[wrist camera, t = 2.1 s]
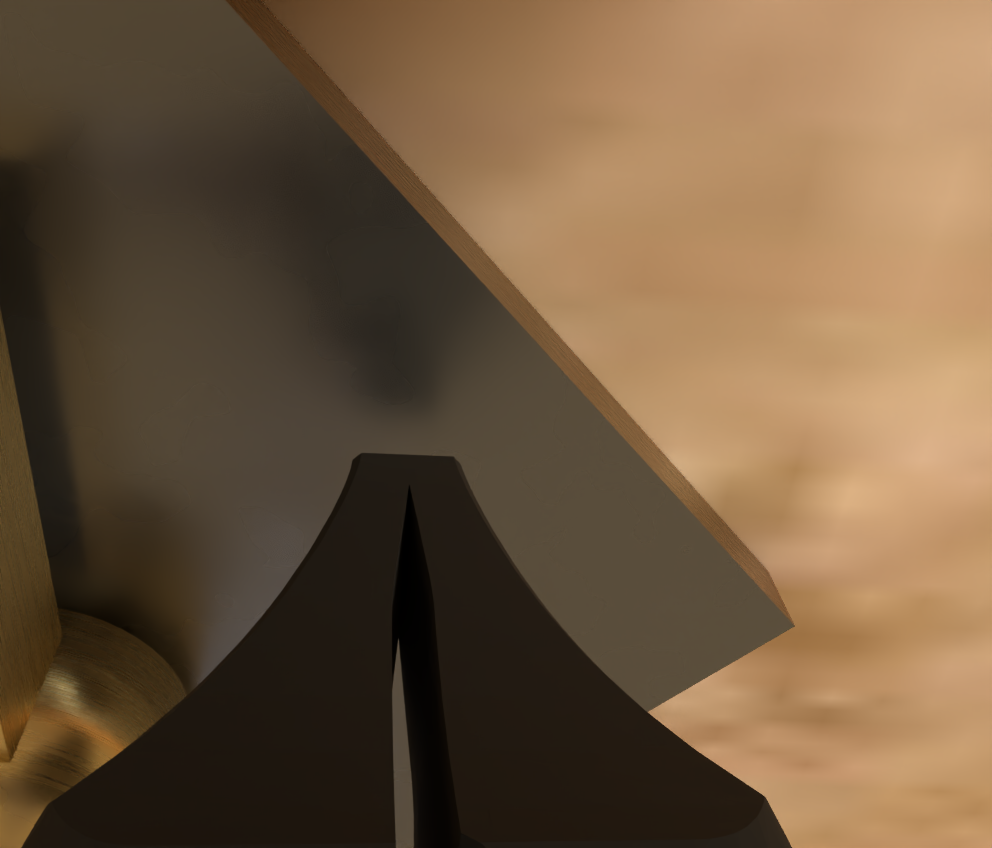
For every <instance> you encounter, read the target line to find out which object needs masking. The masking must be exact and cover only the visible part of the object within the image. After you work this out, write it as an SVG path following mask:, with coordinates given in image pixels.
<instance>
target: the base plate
mask: <svg viewBox="0 0 992 848" xmlns="http://www.w3.org/2000/svg"><path fill="white" fill-rule="evenodd" d="M0 310H1V315H2V320H3V325H4V330H5V336H6V341H7V346H8V351H9V357H10V362H11V367H12V372H13V378H14V383H15V388H16V393H17V399H18V404H19V409H20V414H21V420H22V425H23V430H24V435H25V441H26V446H27V451H28V456H29V462H30V467H31V472H32V477H33V483H34V488H35V493H36V498H37V503H38V509H39V514H40V519H41V524H42V530H43V535H44V540H45V545H46V551H47V556H48V561H49V566H50V572H51V577H52V582H53V587H54V593H55V598H56V603H57V608H62V609H67V610H71V611H75V612H79V613H83V614H86V615H89V616H92V617H95V618H98V619H101V620H104V621H106V622H108V623H110V624H113V625H115V626H117V627H119V628H122V629H123V630H125V631H127V632H129V633H130V634H132V635H134V636H136V637H137V638H139V639H140V640H142V641H143V642H144V643H146V644H147V645H148V646H150V647H151V648H153V649H154V650H155V651H156V652H157V653H158V654H159V655H160V656H161V657H162V658H163V659H165V660H166V662H167V663H168V664H169V665H170V667H171V668H172V669H173V670H174V671H175V673H176V674H177V676H178V678H179V679H180V681H181V683H182V684H183V687H184V689H185V692H186V694H187V695H188V694H189V693H190V692H191V691H192V690H193V689H194V688H196V687H197V686H198V685H199V684H200V683H201V682H202V681H203V680H204V679H205V678H206V677H207V676H208V675H209V674H210V673H211V672H212V671H213V670H214V669H215V668H216V667H217V665H218V664H219V663H220V662H221V661H222V660H223V659H224V658H225V657H226V656H227V655H228V654H229V653H230V652H231V651H232V650H233V649H234V648H235V647H236V646H237V644H238V643H239V642H240V641H241V640H242V639H243V638H244V637H245V635H246V634H247V633H248V632H249V631H250V630H251V628H252V627H253V626H254V625H255V624H256V623H257V621H258V620H259V619H260V618H261V617H262V615H263V614H264V613H265V612H266V610H267V609H268V608H269V607H270V605H271V604H272V603H273V601H274V600H275V599H276V598H277V596H278V595H279V594H280V592H281V591H282V590H283V588H284V587H285V585H286V584H287V582H288V581H289V579H290V578H291V577H292V575H293V574H294V572H295V571H296V569H297V568H298V566H299V565H300V564H301V562H302V561H303V559H304V558H305V556H306V555H307V553H308V552H309V550H310V549H311V547H312V545H313V544H314V542H315V540H316V538H317V537H318V535H319V533H320V532H321V530H322V528H323V526H324V525H325V523H326V521H327V519H328V518H329V516H330V514H331V512H332V510H333V508H334V506H335V504H336V502H337V500H338V498H339V496H340V494H341V492H342V490H343V487H344V485H345V483H346V480H347V477H348V475H349V472H350V469H351V464H352V460H353V459H354V458H355V457H357V456H358V455H359V454H361V453H382V454H407V455H432V456H454V457H455V459H456V460H457V461H458V462H459V463H460V464H461V466H462V469H463V472H464V474H465V476H466V479H467V481H468V483H469V485H470V488H471V490H472V492H473V494H474V496H475V498H476V500H477V502H478V504H479V505H480V507H481V509H482V511H483V513H484V515H485V517H486V518H487V520H488V522H489V524H490V525H491V527H492V529H493V531H494V532H495V534H496V535H497V537H498V539H499V540H500V542H501V543H502V545H503V547H504V548H505V550H506V551H507V553H508V555H509V556H510V558H511V559H512V561H513V562H514V564H515V565H516V567H517V568H518V570H519V571H520V573H521V574H522V576H523V577H524V579H525V580H526V581H527V583H528V584H529V585H530V587H531V588H532V589H533V591H534V592H535V594H536V595H537V596H538V598H539V599H540V600H541V602H542V603H543V604H544V606H545V607H546V608H547V609H548V611H549V612H550V613H551V614H552V616H553V617H554V618H555V619H556V621H557V622H558V623H559V624H560V625H561V627H562V628H563V629H564V630H565V631H566V632H567V633H568V635H569V636H570V637H571V638H572V639H573V640H574V641H575V642H576V644H577V645H578V646H579V647H580V648H581V649H582V650H583V651H584V652H585V653H586V654H587V655H588V657H589V658H590V659H591V660H592V661H593V662H594V663H595V664H596V665H597V666H598V667H599V668H600V669H601V670H602V671H603V672H604V673H605V674H606V675H607V676H608V677H609V678H610V679H611V680H612V681H614V682H615V683H616V684H617V685H618V686H619V687H620V688H621V689H622V690H623V691H625V692H626V693H627V694H628V695H629V696H630V697H631V698H632V699H633V700H634V701H636V702H637V703H638V704H639V705H640V706H641V707H642V708H643V709H644V710H645V711H647V712H648V711H650V710H652V709H653V708H655V707H657V706H658V705H660V704H662V703H664V702H665V701H667V700H669V699H670V698H672V697H674V696H676V695H677V694H679V693H681V692H682V691H684V690H686V689H688V688H689V687H691V686H693V685H695V684H696V683H698V682H700V681H701V680H703V679H705V678H707V677H708V676H710V675H712V674H713V673H715V672H717V671H719V670H720V669H722V668H724V667H725V666H727V665H729V664H731V663H732V662H734V661H736V660H738V659H739V658H741V657H743V656H744V655H746V654H748V653H750V652H751V651H753V650H755V649H756V648H758V647H760V646H762V645H763V644H765V643H767V642H768V641H770V640H772V639H774V638H775V637H777V636H779V635H781V634H782V633H784V632H786V631H787V630H789V629H791V628H793V627H794V626H795V625H794V623H793V621H792V619H791V617H790V615H789V613H788V611H787V609H786V607H785V605H784V603H783V601H782V599H781V597H780V595H779V593H778V590H777V588H776V586H775V584H774V582H773V580H772V578H771V576H770V574H769V572H768V571H767V570H766V569H765V567H764V566H763V565H762V564H761V563H760V562H759V561H758V560H757V558H756V557H755V556H754V555H753V554H752V553H751V552H750V551H749V549H748V548H747V547H746V546H745V545H744V544H743V543H742V542H741V540H740V539H739V538H738V537H737V536H736V535H735V534H734V533H733V531H732V530H731V529H730V528H729V527H728V526H727V525H726V524H725V522H724V521H723V520H722V519H721V518H720V517H719V516H718V515H717V513H716V512H715V511H714V510H713V509H712V508H711V507H710V506H709V504H708V503H707V502H706V501H705V500H704V499H703V498H702V497H701V495H700V494H699V493H698V492H697V491H696V490H695V489H694V488H693V486H692V485H691V484H690V483H689V482H688V481H687V480H686V479H685V477H684V476H683V475H682V474H681V473H680V472H679V471H678V470H677V468H676V467H675V466H674V465H673V464H672V463H671V462H670V461H669V459H668V458H667V457H666V456H665V455H664V454H663V453H662V452H661V450H660V449H659V448H658V447H657V446H656V445H655V444H654V443H653V441H652V440H651V439H650V438H649V437H648V436H647V435H646V434H645V432H644V431H643V430H642V429H641V428H640V427H639V426H638V425H637V424H636V422H635V421H634V420H633V419H632V418H631V417H630V416H629V415H628V413H627V412H626V411H625V410H624V409H623V408H622V407H621V406H620V404H619V403H618V402H617V401H616V400H615V399H614V398H613V397H612V395H611V394H610V393H609V392H608V391H607V390H606V389H605V388H604V386H603V385H602V384H601V383H600V382H599V381H598V380H597V379H596V377H595V376H594V375H593V374H592V373H591V372H590V371H589V370H588V368H587V367H586V366H585V365H584V364H583V363H582V362H581V361H580V359H579V358H578V357H577V356H576V355H575V354H574V353H573V352H572V350H571V349H570V348H569V347H568V346H567V345H566V344H565V343H564V341H563V340H562V339H561V338H560V337H559V336H558V335H557V334H556V332H555V331H554V330H553V329H552V328H551V327H550V326H549V325H548V323H547V322H546V321H545V320H544V319H543V318H542V317H541V316H540V314H539V313H538V312H537V311H536V310H535V309H534V308H533V307H532V305H531V304H530V303H529V302H528V301H527V300H526V299H525V298H524V296H523V295H522V294H521V293H520V292H519V291H518V290H517V289H516V287H515V286H514V285H513V284H512V283H511V282H510V281H509V280H508V278H507V277H506V276H505V275H504V274H503V273H502V272H501V271H500V270H499V268H498V267H497V266H496V265H495V264H494V263H493V262H492V261H491V259H490V258H489V257H488V256H487V255H486V254H485V253H484V252H483V250H482V249H481V248H480V247H479V246H478V245H477V244H476V243H475V241H474V240H473V239H472V238H471V237H470V236H469V235H468V234H467V232H466V231H465V230H464V229H463V228H462V227H461V226H460V225H459V223H458V222H457V221H456V220H455V219H454V218H453V217H452V216H451V214H450V213H449V212H448V211H447V210H446V209H445V208H444V207H443V205H442V204H441V203H440V202H439V201H438V200H437V199H436V198H435V196H434V195H433V194H432V193H431V192H430V191H429V190H428V189H427V187H426V186H425V185H424V184H423V183H422V182H421V181H420V180H419V178H418V177H417V176H416V175H415V174H414V173H413V172H412V171H411V169H410V168H409V167H408V166H407V165H406V164H405V163H404V162H403V160H402V159H401V158H400V157H399V156H398V155H397V154H396V153H395V151H394V150H393V149H392V148H391V147H390V146H389V145H388V144H387V142H386V141H385V140H384V139H383V138H382V137H381V136H380V135H379V133H378V132H377V131H376V130H375V129H374V128H373V127H372V126H371V124H370V123H369V122H368V121H367V120H366V119H365V118H364V117H363V116H362V114H361V113H360V112H359V111H358V110H357V109H356V108H355V107H354V105H353V104H352V103H351V102H350V101H349V100H348V99H347V98H346V96H345V95H344V94H343V93H342V92H341V91H340V90H339V89H338V87H337V86H336V85H335V84H334V83H333V82H332V81H331V80H330V78H329V77H328V76H327V75H326V74H325V73H324V72H323V71H322V69H321V68H320V67H319V66H318V65H317V64H316V63H315V62H314V60H313V59H312V58H311V57H310V56H309V55H308V54H307V53H306V51H305V50H304V49H303V48H302V47H301V46H300V45H299V44H298V42H297V41H296V40H295V39H294V38H293V37H292V36H291V35H290V33H289V32H288V31H287V30H286V29H285V28H284V27H283V26H282V24H281V23H280V22H279V21H278V20H277V19H276V18H275V17H274V15H273V14H272V13H271V12H270V11H269V10H268V9H267V8H266V6H265V5H264V4H263V3H262V2H261V1H260V0H0ZM392 711H393V766H394V803H395V833H396V848H414V813H413V794H412V779H411V768H410V757H409V747H408V736H407V725H406V715H405V704H404V694H403V683H402V672H401V661H400V650H399V638H398V646H397V654H396V663H395V671H394V680H393V688H392Z"/></svg>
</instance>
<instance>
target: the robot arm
mask: <svg viewBox="0 0 992 848" xmlns="http://www.w3.org/2000/svg"><path fill="white" fill-rule="evenodd" d="M398 638H399V650H400V661H401V672H402V683H403V694H404V704H405V715H406V725H407V736H408V747H409V757H410V768H411V779H412V794H413V813H414V848H792V847H791V845H790V843H789V841H788V839H787V837H786V835H785V833H784V831H783V829H782V827H781V826H780V824H779V822H778V820H777V818H776V816H775V814H774V812H773V811H772V809H771V807H770V805H769V803H768V801H767V799H766V798H765V797H764V796H763V795H762V794H760V793H759V792H757V791H756V790H754V789H753V788H751V787H750V786H748V785H747V784H745V783H744V782H742V781H741V780H739V779H738V778H736V777H735V776H733V775H732V774H730V773H729V772H727V771H726V770H724V769H723V768H721V767H720V766H718V765H717V764H715V763H714V762H713V761H711V760H710V759H708V758H707V757H705V756H704V755H702V754H701V753H699V752H698V751H696V750H695V749H694V748H692V747H691V746H690V745H688V744H687V743H686V742H684V741H683V740H682V739H681V738H679V737H678V736H677V735H675V734H674V733H673V732H672V731H670V730H669V729H668V728H666V727H665V726H664V725H663V724H661V723H660V722H659V721H658V720H656V719H655V718H654V717H653V716H651V715H650V714H649V713H648V712H647V711H645V710H644V709H643V708H642V707H641V706H640V705H639V704H638V703H637V702H636V701H634V700H633V699H632V698H631V697H630V696H629V695H628V694H627V693H626V692H625V691H623V690H622V689H621V688H620V687H619V686H618V685H617V684H616V683H615V682H614V681H612V680H611V679H610V678H609V677H608V676H607V675H606V674H605V673H604V672H603V671H602V670H601V669H600V668H599V667H598V666H597V665H596V664H595V663H594V662H593V661H592V660H591V659H590V658H589V657H588V655H587V654H586V653H585V652H584V651H583V650H582V649H581V648H580V647H579V646H578V645H577V644H576V642H575V641H574V640H573V639H572V638H571V637H570V636H569V635H568V633H567V632H566V631H565V630H564V629H563V628H562V627H561V625H560V624H559V623H558V622H557V621H556V619H555V618H554V617H553V616H552V614H551V613H550V612H549V611H548V609H547V608H546V607H545V606H544V604H543V603H542V602H541V600H540V599H539V598H538V596H537V595H536V594H535V592H534V591H533V589H532V588H531V587H530V585H529V584H528V583H527V581H526V580H525V579H524V577H523V576H522V574H521V573H520V571H519V570H518V568H517V567H516V565H515V564H514V562H513V561H512V559H511V558H510V556H509V555H508V553H507V551H506V550H505V548H504V547H503V545H502V543H501V542H500V540H499V539H498V537H497V535H496V534H495V532H494V531H493V529H492V527H491V525H490V524H489V522H488V520H487V518H486V517H485V515H484V513H483V511H482V509H481V507H480V505H479V504H478V502H477V500H476V498H475V496H474V494H473V492H472V490H471V488H470V485H469V483H468V481H467V479H466V476H465V474H464V472H463V469H462V466H461V464H460V463H459V462H458V461H457V460H456V459H455V457H454V456H432V455H407V454H382V453H361V454H359V455H358V456H357V457H355V458H354V459H353V460H352V464H351V469H350V472H349V475H348V477H347V480H346V483H345V485H344V487H343V490H342V492H341V494H340V496H339V498H338V500H337V502H336V504H335V506H334V508H333V510H332V512H331V514H330V516H329V518H328V519H327V521H326V523H325V525H324V526H323V528H322V530H321V532H320V533H319V535H318V537H317V538H316V540H315V542H314V544H313V545H312V547H311V549H310V550H309V552H308V553H307V555H306V556H305V558H304V559H303V561H302V562H301V564H300V565H299V566H298V568H297V569H296V571H295V572H294V574H293V575H292V577H291V578H290V579H289V581H288V582H287V584H286V585H285V587H284V588H283V590H282V591H281V592H280V594H279V595H278V596H277V598H276V599H275V600H274V601H273V603H272V604H271V605H270V607H269V608H268V609H267V610H266V612H265V613H264V614H263V615H262V617H261V618H260V619H259V620H258V621H257V623H256V624H255V625H254V626H253V627H252V628H251V630H250V631H249V632H248V633H247V634H246V635H245V637H244V638H243V639H242V640H241V641H240V642H239V643H238V644H237V646H236V647H235V648H234V649H233V650H232V651H231V652H230V653H229V654H228V655H227V656H226V657H225V658H224V659H223V660H222V661H221V662H220V663H219V664H218V665H217V667H216V668H215V669H214V670H213V671H212V672H211V673H210V674H209V675H208V676H207V677H206V678H205V679H204V680H203V681H202V682H201V683H200V684H199V685H198V686H197V687H196V688H194V689H193V690H192V691H191V692H190V693H189V694H188V695H187V696H186V697H185V698H184V699H182V700H181V701H180V702H179V703H178V704H177V705H175V706H174V707H173V708H172V709H171V710H170V711H169V712H167V713H166V714H165V715H164V716H163V717H162V718H160V719H159V720H158V721H157V722H156V723H155V724H153V725H152V726H151V727H150V728H149V729H148V730H147V731H145V732H144V733H143V734H142V735H141V736H140V737H138V738H137V739H136V740H135V741H134V742H132V743H131V744H130V745H129V746H127V747H126V748H125V749H123V750H122V751H121V752H120V753H118V754H117V755H116V756H114V757H113V758H111V759H110V760H109V761H107V762H106V763H105V764H103V765H102V766H100V767H99V768H98V769H96V770H95V771H94V772H92V773H91V774H89V775H88V776H87V777H85V778H84V779H83V780H81V781H80V782H78V783H77V784H76V785H74V786H73V787H72V788H70V789H69V790H67V791H66V792H65V793H63V794H62V795H60V796H59V797H58V798H56V799H55V800H53V801H52V802H50V803H49V804H47V806H46V807H45V809H44V811H43V812H42V814H41V815H40V817H39V818H38V820H37V822H36V823H35V825H34V827H33V829H32V830H31V832H30V834H29V835H28V837H27V839H26V840H25V842H24V844H23V845H22V847H21V848H396V833H395V803H394V766H393V711H392V688H393V680H394V671H395V663H396V654H397V646H398Z"/></svg>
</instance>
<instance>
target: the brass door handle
mask: <svg viewBox="0 0 992 848" xmlns="http://www.w3.org/2000/svg"><path fill="white" fill-rule="evenodd" d="M186 696H187V694H186V692H185V689H184V687H183V684H182V683H181V681H180V679H179V678H178V676H177V674H176V673H175V671H174V670H173V669H172V668H171V667H170V665H169V664H168V663H167V662H166V660H165V659H163V658H162V657H161V656H160V655H159V654H158V653H157V652H156V651H155V650H154V649H153V648H151V647H150V646H148V645H147V644H146V643H144V642H143V641H142V640H140V639H139V638H137V637H136V636H134V635H132V634H130V633H129V632H127V631H125V630H123V629H122V628H119V627H117V626H115V625H113V624H110V623H108V622H106V621H104V620H101V619H98V618H95V617H92V616H89V615H86V614H83V613H79V612H75V611H71V610H67V609H62V608H57V603H56V598H55V593H54V587H53V582H52V577H51V572H50V566H49V561H48V556H47V551H46V545H45V540H44V535H43V530H42V524H41V519H40V514H39V509H38V503H37V498H36V493H35V488H34V483H33V477H32V472H31V467H30V462H29V456H28V451H27V446H26V441H25V435H24V430H23V425H22V420H21V414H20V409H19V404H18V399H17V393H16V388H15V383H14V378H13V372H12V367H11V362H10V357H9V351H8V346H7V341H6V336H5V330H4V325H3V320H2V315H1V310H0V848H21V847H22V845H23V844H24V842H25V840H26V839H27V837H28V835H29V834H30V832H31V830H32V829H33V827H34V825H35V823H36V822H37V820H38V818H39V817H40V815H41V814H42V812H43V811H44V809H45V807H46V806H47V804H49V803H50V802H52V801H53V800H55V799H56V798H58V797H59V796H60V795H62V794H63V793H65V792H66V791H67V790H69V789H70V788H72V787H73V786H74V785H76V784H77V783H78V782H80V781H81V780H83V779H84V778H85V777H87V776H88V775H89V774H91V773H92V772H94V771H95V770H96V769H98V768H99V767H100V766H102V765H103V764H105V763H106V762H107V761H109V760H110V759H111V758H113V757H114V756H116V755H117V754H118V753H120V752H121V751H122V750H123V749H125V748H126V747H127V746H129V745H130V744H131V743H132V742H134V741H135V740H136V739H137V738H138V737H140V736H141V735H142V734H143V733H144V732H145V731H147V730H148V729H149V728H150V727H151V726H152V725H153V724H155V723H156V722H157V721H158V720H159V719H160V718H162V717H163V716H164V715H165V714H166V713H167V712H169V711H170V710H171V709H172V708H173V707H174V706H175V705H177V704H178V703H179V702H180V701H181V700H182V699H184V698H185V697H186Z"/></svg>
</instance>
